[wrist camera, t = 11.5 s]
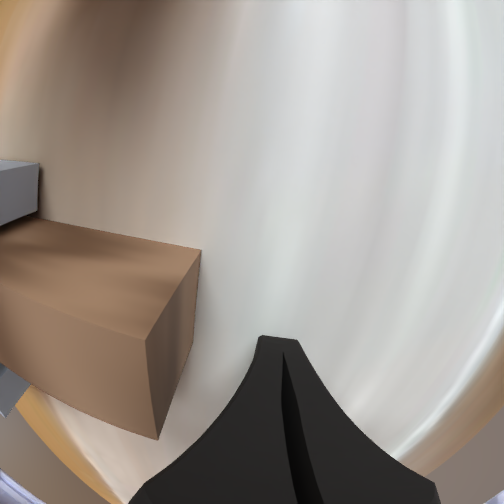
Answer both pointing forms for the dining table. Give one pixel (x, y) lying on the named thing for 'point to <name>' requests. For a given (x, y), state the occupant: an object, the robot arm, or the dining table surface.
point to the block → (3, 211)
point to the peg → (97, 318)
